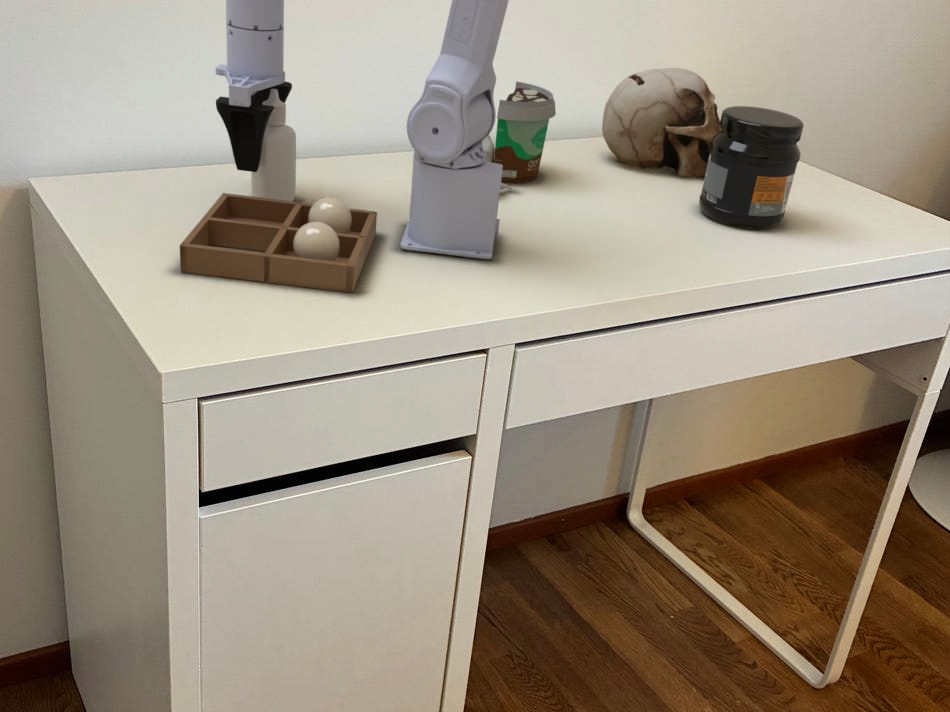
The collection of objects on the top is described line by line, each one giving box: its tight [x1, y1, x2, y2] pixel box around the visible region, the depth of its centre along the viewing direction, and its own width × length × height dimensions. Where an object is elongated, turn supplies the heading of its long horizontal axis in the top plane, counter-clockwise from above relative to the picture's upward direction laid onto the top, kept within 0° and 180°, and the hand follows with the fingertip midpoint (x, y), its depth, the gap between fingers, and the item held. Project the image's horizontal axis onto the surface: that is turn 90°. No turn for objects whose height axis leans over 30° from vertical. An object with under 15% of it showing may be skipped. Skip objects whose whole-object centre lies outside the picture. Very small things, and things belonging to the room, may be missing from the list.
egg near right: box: [293, 222, 340, 261], centre depth 105 cm, size 4×4×4 cm
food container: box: [494, 81, 557, 185], centre depth 138 cm, size 12×6×10 cm, turn 168°
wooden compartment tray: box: [179, 192, 378, 294], centre depth 109 cm, size 16×16×3 cm
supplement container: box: [698, 105, 805, 230], centre depth 133 cm, size 10×10×12 cm
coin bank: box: [601, 67, 721, 178], centre depth 150 cm, size 16×17×13 cm
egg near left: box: [308, 196, 352, 234], centre depth 112 cm, size 4×4×4 cm
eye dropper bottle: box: [250, 89, 297, 202], centre depth 119 cm, size 4×6×12 cm
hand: (255, 160), depth 120 cm, fingers open, 7 cm apart
